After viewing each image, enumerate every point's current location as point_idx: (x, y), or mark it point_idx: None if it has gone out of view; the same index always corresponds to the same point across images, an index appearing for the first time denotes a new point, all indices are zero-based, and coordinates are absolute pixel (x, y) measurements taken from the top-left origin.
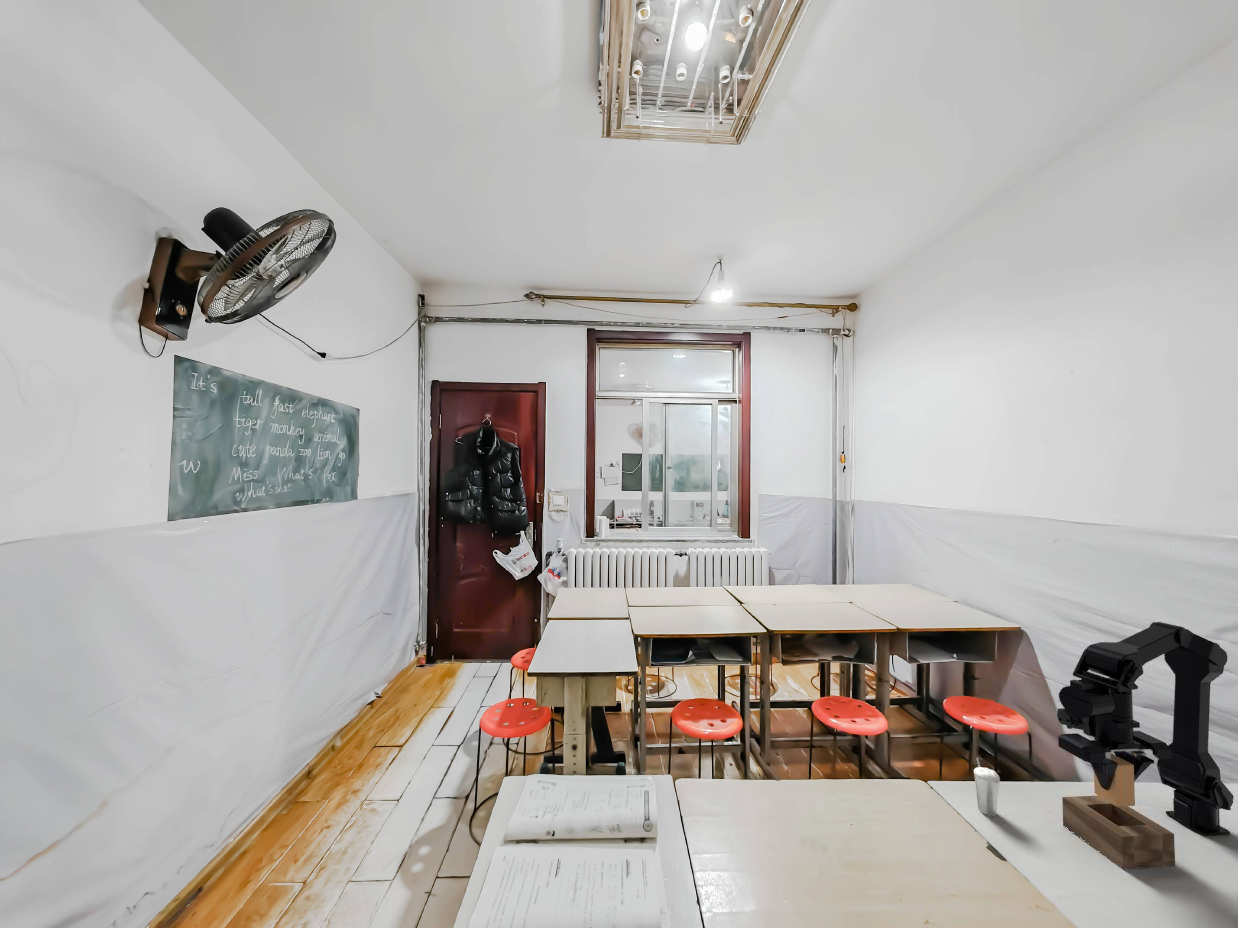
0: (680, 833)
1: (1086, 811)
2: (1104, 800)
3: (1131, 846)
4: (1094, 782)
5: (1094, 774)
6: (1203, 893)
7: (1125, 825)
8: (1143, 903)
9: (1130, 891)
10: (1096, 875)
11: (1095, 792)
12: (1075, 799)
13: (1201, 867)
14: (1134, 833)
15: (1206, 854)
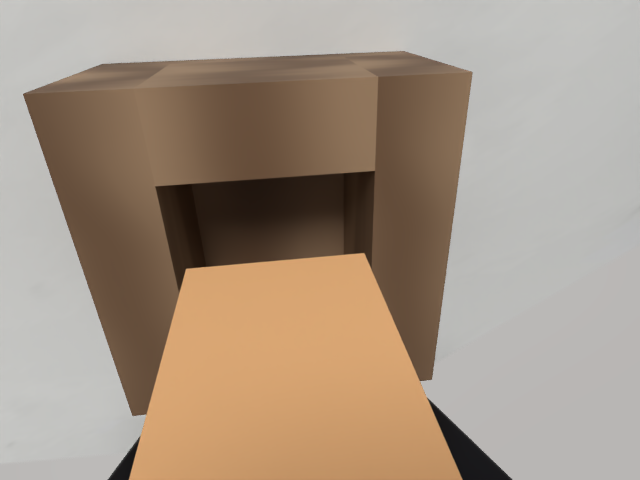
0: None
1: (99, 249)
2: (356, 137)
3: None
4: (172, 330)
5: (152, 408)
6: None
7: (353, 207)
8: (99, 421)
9: (98, 389)
10: (24, 342)
11: (188, 277)
12: (122, 126)
13: (473, 291)
14: None
15: (578, 237)
